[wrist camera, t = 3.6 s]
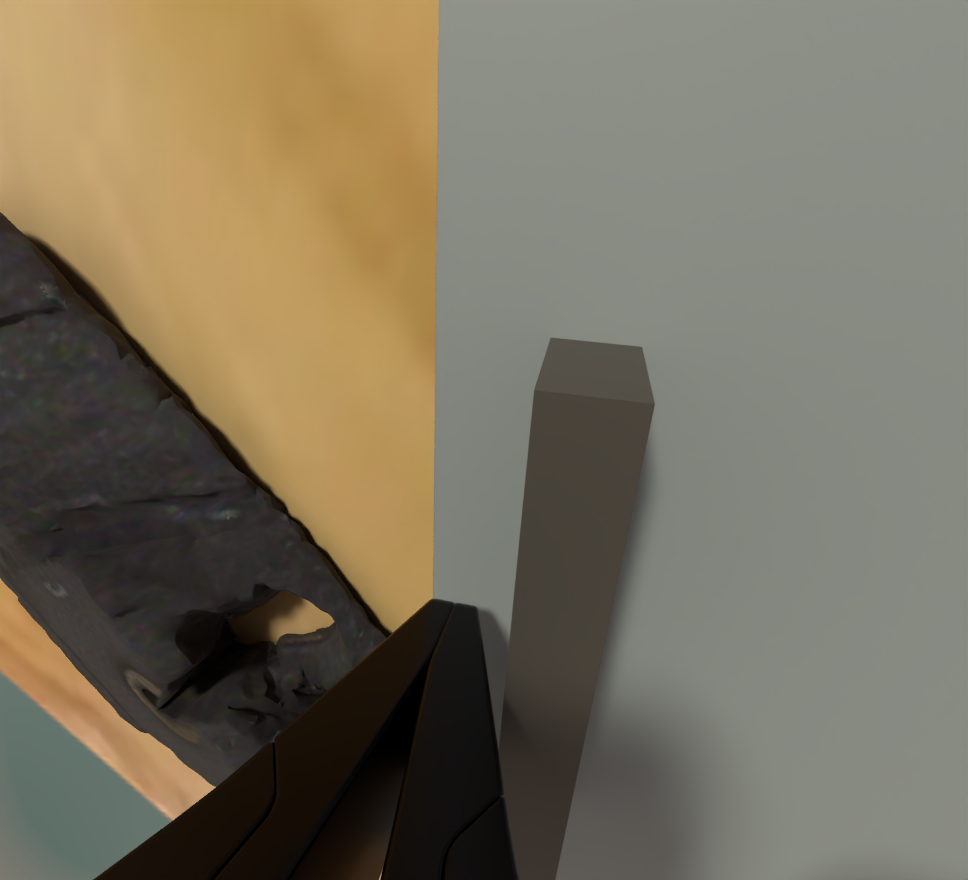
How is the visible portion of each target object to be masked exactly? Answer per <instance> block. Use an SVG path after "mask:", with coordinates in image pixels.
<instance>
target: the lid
mask: <svg viewBox="0 0 968 880" xmlns="http://www.w3.org/2000/svg"><path fill="white" fill-rule="evenodd" d="M434 598H436V599H441V600H447V601H452V602H454V603H462V604H468V605H473V606H476V607H477V608H478V612H479V618H480V625H481V632H482V639H483V646H484V653H485V660H486V667H487V674H488V681H489V688H490V695H491V702H492V709H493V716H494V723H495V730H496V737H497V744H498V751H499V757H500V764H501V771H502V778H503V785H504V792H505V795H504V798H505V800H506V804H507V811H508V818H509V825H510V832H511V837H512V843H513V849H514V854H515V860H516V866H517V871H518V875H519V880H968V0H439V47H438V149H437V251H436V353H435V455H434V557H433V599H434Z"/></svg>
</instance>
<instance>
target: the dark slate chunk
mask: <svg viewBox="0 0 968 880" xmlns="http://www.w3.org/2000/svg"><path fill="white" fill-rule="evenodd" d="M0 578H1V580H2V581H3V582H4V583H5V584H6V585H7V586H8V587H9V588H10V589H11V590H12V591H13V592H14V593H15V594H16V595H17V596H18V601H19V602H20V604H21V605H22V606H23V607H24V608H25V609H26V610H27V612H28V613H29V614H30V615H31V617H32V618H33V619H34V620H35V621H36V622H37V623H38V624H39V625H40V626H41V627H42V628H43V629H44V630H45V631H46V633H47V635H48V636H49V638H50V639H51V640H52V641H53V642H54V643H55V644H56V645H57V646H58V647H59V648H60V649H61V650H62V651H63V653H64V654H65V655H66V657H67V658H68V659H69V660H70V661H71V662H72V664H73V665H74V666H75V668H76V669H77V670H78V671H79V672H80V673H81V674H82V675H83V676H84V677H85V678H86V679H87V680H88V681H89V682H90V683H91V684H92V685H93V686H94V687H95V688H96V689H97V691H98V692H99V693H100V694H101V695H102V696H103V698H104V699H105V700H106V701H108V702H109V703H110V704H111V705H112V707H113V708H114V709H115V710H116V712H117V713H118V714H119V716H120V717H122V718H123V719H124V720H125V721H127V722H128V723H130V724H131V725H132V726H134V727H135V728H136V729H137V730H139V731H141V732H143V733H149V734H150V735H151V736H153V737H154V738H155V739H157V740H158V741H159V742H161V743H162V744H164V745H165V746H167V747H168V748H170V749H171V750H172V751H173V752H174V753H175V755H176V756H177V757H178V758H179V759H180V760H181V761H182V762H183V763H184V764H185V765H187V766H188V767H189V768H191V769H192V770H194V771H195V772H197V773H198V774H199V775H201V776H202V777H203V778H204V779H205V780H206V781H207V782H209V783H210V784H211V785H213V786H215V787H217V786H218V785H220V784H221V783H222V782H223V781H224V780H225V779H227V778H228V777H229V776H230V775H231V774H233V773H234V772H235V771H236V770H237V769H238V768H240V767H241V766H242V765H243V764H244V763H246V762H247V761H248V760H249V759H250V758H251V757H253V756H254V755H255V754H256V753H257V752H258V751H259V750H260V749H262V748H263V747H264V746H265V745H266V744H267V743H268V742H273V743H274V738H275V736H277V735H278V734H279V733H280V732H281V731H282V730H283V729H285V728H286V727H287V726H288V725H289V724H290V723H291V722H292V721H294V720H295V719H296V718H297V717H298V716H299V715H300V714H302V713H303V712H304V711H305V710H306V709H307V708H308V707H309V706H311V705H312V704H313V703H314V702H315V701H316V700H317V699H319V698H320V697H321V696H322V695H323V694H324V693H325V692H326V691H328V690H329V689H330V688H331V687H332V686H333V685H334V684H335V683H337V682H338V681H339V680H340V679H341V678H342V677H343V676H345V675H346V674H347V673H348V672H349V671H350V670H351V669H352V668H354V667H355V666H356V665H357V664H358V663H359V662H360V661H362V660H363V659H364V658H365V657H366V656H367V655H368V654H369V653H371V652H372V651H373V650H374V649H375V648H376V647H377V646H378V645H380V644H381V643H382V642H383V641H384V640H385V639H386V637H385V636H384V634H383V633H382V632H381V631H380V630H379V629H378V628H377V627H375V626H374V625H373V624H372V623H371V622H370V621H369V619H368V617H367V615H366V613H365V611H364V608H363V607H362V606H361V605H360V604H359V603H358V602H357V601H356V600H355V599H354V597H353V595H352V593H351V592H350V591H349V589H348V588H347V586H346V585H345V583H344V582H343V580H342V579H341V578H340V576H339V575H338V573H337V572H336V570H335V569H334V567H333V566H332V564H331V563H330V562H329V560H328V559H327V558H326V557H325V556H323V554H322V553H321V552H320V551H319V550H318V549H317V548H316V547H314V546H313V545H312V544H310V543H309V541H308V539H307V537H306V535H305V533H304V531H303V530H302V528H301V527H300V526H299V525H298V524H297V523H295V522H294V521H292V520H291V519H289V518H288V517H287V516H286V515H285V507H284V506H283V505H281V504H280V503H279V502H278V501H276V500H275V499H274V498H273V497H272V496H270V495H269V494H268V493H266V492H265V491H264V490H263V489H261V488H260V487H259V486H257V485H256V484H255V483H254V482H253V481H252V480H251V479H250V478H249V477H247V476H246V475H244V474H243V473H241V472H240V471H238V470H237V469H236V468H235V466H234V465H233V464H232V463H231V461H230V460H229V459H228V458H227V457H226V455H225V454H224V452H223V450H222V449H221V447H220V445H219V444H218V443H217V441H216V440H215V439H214V438H213V437H212V435H211V434H210V433H209V432H208V430H207V429H206V428H205V427H204V425H203V424H202V423H201V422H200V421H199V420H198V419H197V418H196V417H195V416H194V415H193V414H192V411H191V409H190V408H189V406H188V405H187V403H186V402H185V401H184V400H183V399H181V398H180V397H178V396H177V395H176V394H174V393H173V392H172V391H171V390H170V389H169V388H168V387H167V386H166V385H165V384H164V383H163V382H162V381H161V379H160V378H159V376H158V374H157V373H156V372H155V371H154V370H153V369H152V368H151V366H149V365H148V364H146V363H145V362H144V361H143V360H141V359H140V357H139V356H138V355H137V353H136V352H135V350H134V348H133V347H132V345H131V344H130V342H129V341H128V340H127V338H126V337H125V336H124V335H123V334H122V333H121V331H120V330H119V329H118V328H117V327H116V326H115V325H113V324H112V323H111V322H110V321H108V320H107V319H106V318H104V317H103V316H102V315H101V314H99V313H98V312H97V311H96V310H95V309H94V308H93V307H92V306H91V305H90V304H89V303H88V302H87V300H86V298H85V297H84V296H82V295H81V294H80V293H76V292H75V290H74V289H73V287H72V286H71V285H70V283H69V282H68V281H67V280H66V278H65V277H64V276H63V275H62V274H61V273H60V271H59V270H58V269H57V268H56V267H55V266H54V264H53V263H52V262H51V261H50V260H49V259H48V258H47V257H46V256H45V255H44V254H43V253H42V252H41V251H40V250H39V249H38V248H37V247H36V246H35V245H34V244H33V243H32V242H31V241H30V240H29V239H28V238H27V237H26V236H25V235H24V234H23V233H22V232H21V231H19V230H18V229H17V228H16V227H15V226H14V225H13V224H12V223H11V222H10V221H9V220H8V219H7V218H6V217H5V216H4V215H3V214H2V213H1V212H0ZM281 590H286V591H289V592H291V593H293V594H295V595H297V596H299V597H302V598H304V599H306V600H308V601H310V602H311V603H313V604H314V605H315V606H316V607H318V608H319V609H320V610H322V611H324V612H326V613H328V614H329V615H331V617H332V618H333V619H334V621H335V622H334V623H333V624H332V625H331V626H329V627H327V628H321V629H317V630H316V631H315V632H311V633H307V634H303V635H301V634H285V635H283V636H281V637H280V638H279V640H278V642H277V644H276V645H275V644H274V643H273V642H271V641H270V642H258V643H255V644H251V645H244V644H242V643H240V642H237V641H234V640H235V639H236V637H237V636H236V635H235V634H234V633H232V631H231V628H230V625H229V623H228V621H227V620H226V619H233V618H237V617H240V616H242V615H245V614H247V613H249V612H250V611H252V610H253V609H254V608H257V607H259V606H261V605H263V604H265V603H266V602H268V601H269V600H270V599H271V598H273V597H274V596H275V595H276V594H277V593H278V592H279V591H281Z"/></svg>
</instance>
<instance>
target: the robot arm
mask: <svg viewBox="0 0 968 880" xmlns="http://www.w3.org/2000/svg"><path fill="white" fill-rule="evenodd" d="M504 795H505V792H504V785H503V778H502V771H501V764H500V757H499V751H498V744H497V737H496V730H495V723H494V716H493V709H492V702H491V695H490V688H489V681H488V674H487V667H486V660H485V653H484V646H483V639H482V632H481V625H480V618H479V612H478V608H477V607H476V606H473V605H468V604H462V603H454V602H452V601H447V600H441V599H436V598H434V599H431V600H430V601H428V602H427V603H426V604H425V605H424V606H423V607H422V608H420V609H419V610H418V611H417V612H416V613H415V614H414V615H412V616H411V617H410V618H409V619H408V620H407V621H406V622H405V623H403V624H402V625H401V626H400V627H399V628H398V629H397V630H395V631H394V632H393V633H392V634H391V635H390V636H389V637H388V638H386V639H385V640H384V641H383V642H382V643H381V644H380V645H378V646H377V647H376V648H375V649H374V650H373V651H372V652H371V653H369V654H368V655H367V656H366V657H365V658H364V659H363V660H362V661H360V662H359V663H358V664H357V665H356V666H355V667H354V668H352V669H351V670H350V671H349V672H348V673H347V674H346V675H345V676H343V677H342V678H341V679H340V680H339V681H338V682H337V683H335V684H334V685H333V686H332V687H331V688H330V689H329V690H328V691H326V692H325V693H324V694H323V695H322V696H321V697H320V698H319V699H317V700H316V701H315V702H314V703H313V704H312V705H311V706H309V707H308V708H307V709H306V710H305V711H304V712H303V713H302V714H300V715H299V716H298V717H297V718H296V719H295V720H294V721H292V722H291V723H290V724H289V725H288V726H287V727H286V728H285V729H283V730H282V731H281V732H280V733H279V734H278V735H277V736H275V738H274V743H273V742H268V743H267V744H266V745H265V746H264V747H263V748H262V749H260V750H259V751H258V752H257V753H256V754H255V755H254V756H253V757H251V758H250V759H249V760H248V761H247V762H246V763H244V764H243V765H242V766H241V767H240V768H238V769H237V770H236V771H235V772H234V773H233V774H231V775H230V776H229V777H228V778H227V779H225V780H224V781H223V782H222V783H221V784H220V785H218V786H217V787H216V788H215V789H214V790H212V791H211V792H210V793H208V794H207V795H206V796H204V797H203V798H202V799H201V800H199V801H198V802H197V803H195V804H194V805H193V806H191V807H190V808H189V809H188V810H186V811H185V812H184V813H182V814H181V815H180V816H178V817H177V818H176V819H175V820H173V821H172V822H171V823H169V824H168V825H166V826H165V827H164V828H163V829H161V830H160V831H158V832H157V833H156V834H154V835H153V836H152V837H150V838H149V839H148V840H146V841H145V842H144V843H142V844H141V845H139V846H138V847H137V848H136V849H134V850H133V851H131V852H130V853H129V854H127V855H126V856H125V857H123V858H122V859H120V860H119V861H118V862H116V863H115V864H114V865H112V866H111V867H110V868H108V869H107V870H106V871H104V872H103V873H102V874H100V875H99V876H97V877H96V878H95V879H93V880H379V877H380V875H381V872H382V875H381V880H519V875H518V871H517V866H516V860H515V854H514V849H513V843H512V837H511V832H510V825H509V818H508V811H507V804H506V800H505V798H504ZM382 869H383V871H382Z"/></svg>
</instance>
